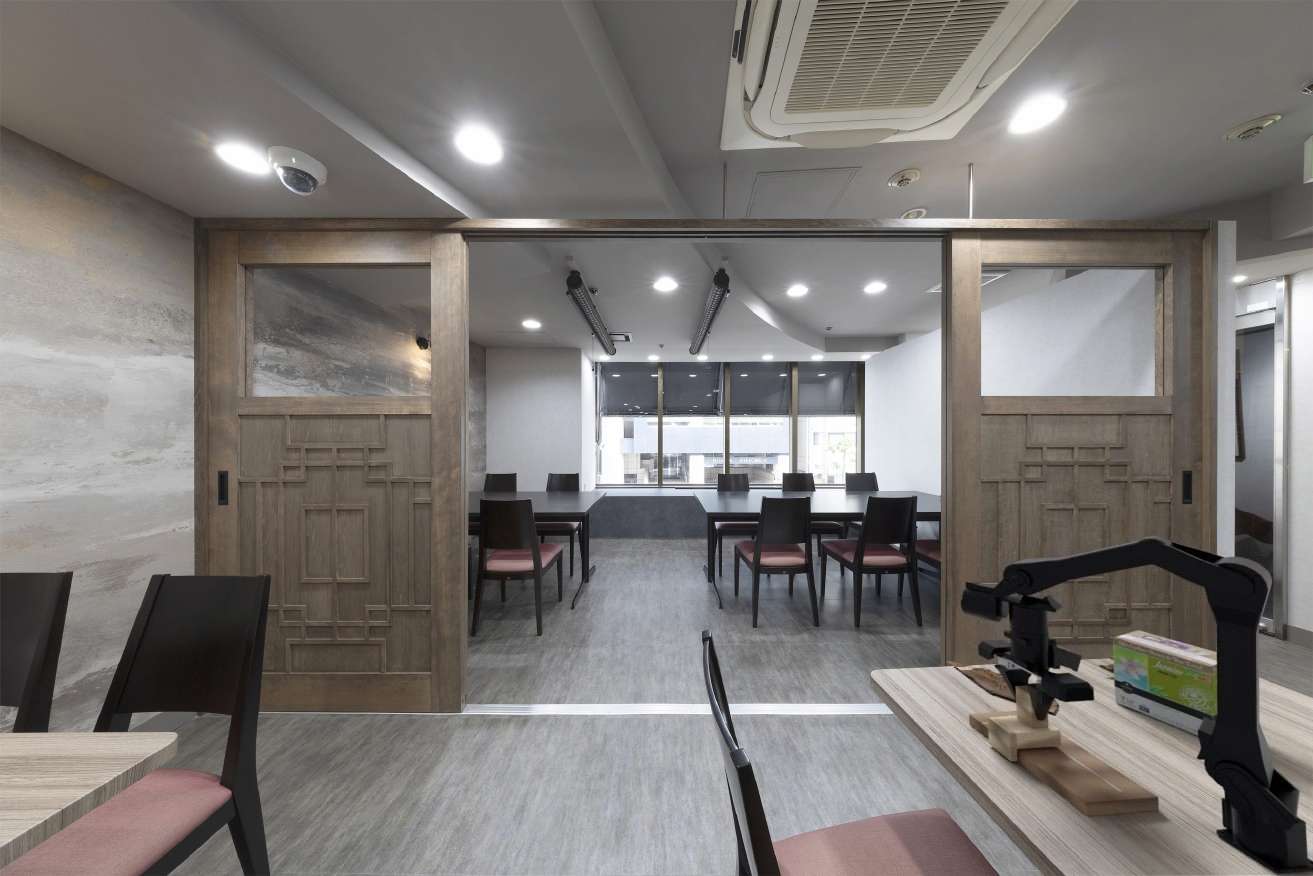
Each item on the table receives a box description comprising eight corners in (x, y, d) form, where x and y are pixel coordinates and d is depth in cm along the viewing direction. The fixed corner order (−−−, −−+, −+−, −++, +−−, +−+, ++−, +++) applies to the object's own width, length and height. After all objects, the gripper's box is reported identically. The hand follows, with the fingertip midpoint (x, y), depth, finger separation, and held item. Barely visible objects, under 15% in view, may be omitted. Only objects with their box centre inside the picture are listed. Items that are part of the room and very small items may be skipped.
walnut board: (1159, 810, 72) (1158, 796, 72) (1086, 816, 71) (1086, 802, 71) (1024, 720, 96) (1024, 710, 96) (969, 723, 95) (969, 713, 95)
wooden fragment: (1076, 712, 99) (1075, 707, 99) (1035, 720, 96) (1035, 714, 96) (968, 660, 124) (968, 656, 124) (934, 665, 121) (934, 661, 121)
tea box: (1113, 704, 101) (1110, 635, 102) (1139, 694, 105) (1136, 628, 105) (1215, 744, 87) (1211, 664, 87) (1241, 732, 91) (1237, 655, 91)
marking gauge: (1061, 758, 83) (1058, 696, 84) (1011, 761, 83) (1008, 699, 83) (1036, 740, 88) (1034, 682, 89) (988, 743, 88) (986, 685, 88)
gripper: (1122, 648, 78) (1127, 743, 77) (1025, 610, 96) (1028, 686, 96) (1060, 651, 77) (1064, 748, 76) (974, 612, 95) (977, 690, 95)
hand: (1032, 714), depth 86 cm, fingers closed on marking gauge, 3 cm apart
